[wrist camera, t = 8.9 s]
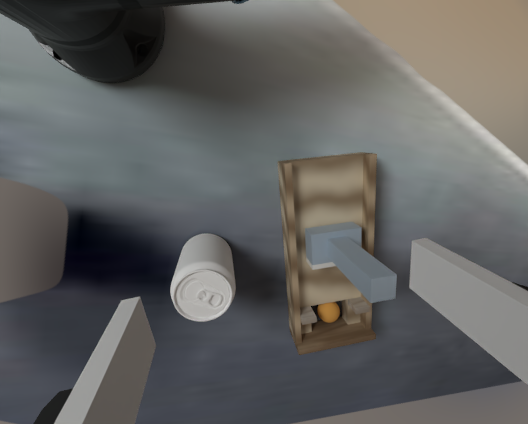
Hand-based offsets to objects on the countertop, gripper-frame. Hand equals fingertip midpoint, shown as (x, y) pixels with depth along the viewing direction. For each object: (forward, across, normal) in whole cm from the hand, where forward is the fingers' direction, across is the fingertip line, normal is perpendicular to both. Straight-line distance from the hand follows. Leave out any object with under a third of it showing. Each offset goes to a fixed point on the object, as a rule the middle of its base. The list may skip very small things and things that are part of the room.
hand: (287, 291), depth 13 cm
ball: (+27, +12, -26) cm, 40 cm away
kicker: (+27, +13, -12) cm, 32 cm away
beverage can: (+30, -7, -12) cm, 33 cm away
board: (+30, +13, -15) cm, 36 cm away
